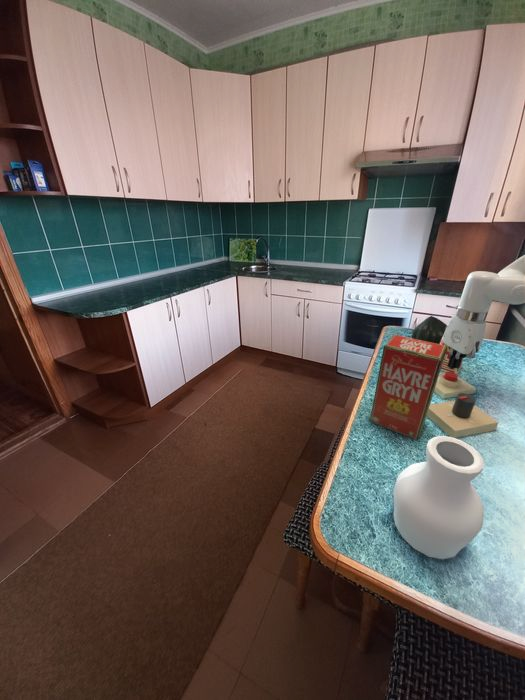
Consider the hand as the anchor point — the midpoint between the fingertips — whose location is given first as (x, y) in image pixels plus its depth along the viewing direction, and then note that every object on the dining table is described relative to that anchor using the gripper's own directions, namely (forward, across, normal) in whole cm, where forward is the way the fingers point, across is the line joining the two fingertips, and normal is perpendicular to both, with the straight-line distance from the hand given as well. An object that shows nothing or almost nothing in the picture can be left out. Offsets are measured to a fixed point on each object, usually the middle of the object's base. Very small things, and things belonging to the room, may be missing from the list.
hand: (452, 367), depth 95 cm
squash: (+8, -26, +14) cm, 31 cm away
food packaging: (+8, +11, -27) cm, 30 cm away
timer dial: (+5, +15, -10) cm, 19 cm away
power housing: (+8, 0, 0) cm, 8 cm away
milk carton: (+8, -12, +10) cm, 18 cm away
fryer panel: (+8, +15, -10) cm, 20 cm away
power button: (+5, 0, 0) cm, 5 cm away
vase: (+8, +39, -40) cm, 56 cm away
